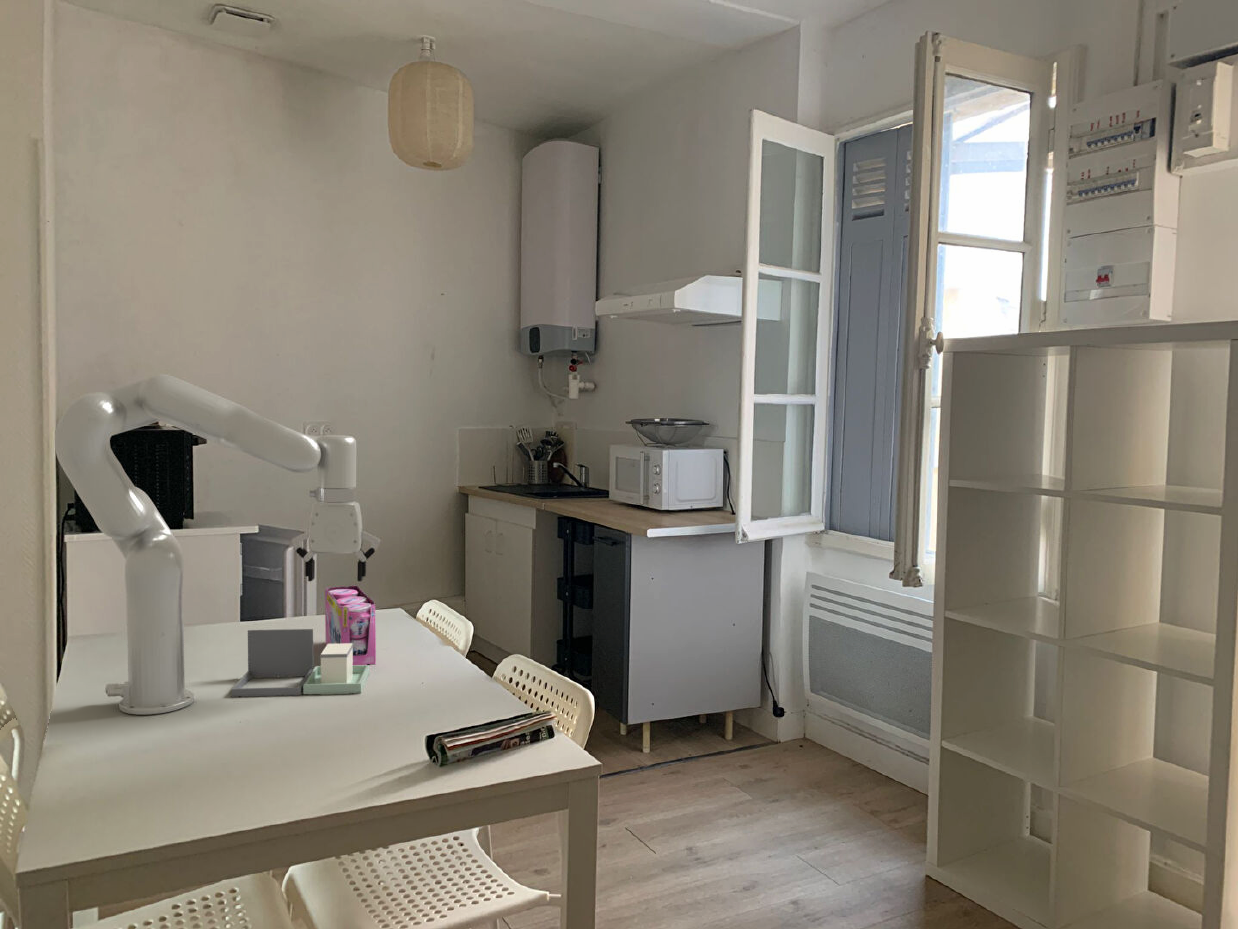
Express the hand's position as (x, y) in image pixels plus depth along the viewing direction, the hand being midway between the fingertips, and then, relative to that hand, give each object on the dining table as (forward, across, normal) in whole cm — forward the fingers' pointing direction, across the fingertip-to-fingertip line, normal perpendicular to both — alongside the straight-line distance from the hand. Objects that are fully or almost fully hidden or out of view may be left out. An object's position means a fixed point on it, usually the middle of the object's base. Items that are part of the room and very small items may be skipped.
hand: (335, 580), depth 187 cm
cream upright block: (+21, 0, 0) cm, 21 cm away
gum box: (+22, -1, +24) cm, 32 cm away
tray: (+22, 0, 0) cm, 22 cm away
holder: (+22, -12, 0) cm, 25 cm away
